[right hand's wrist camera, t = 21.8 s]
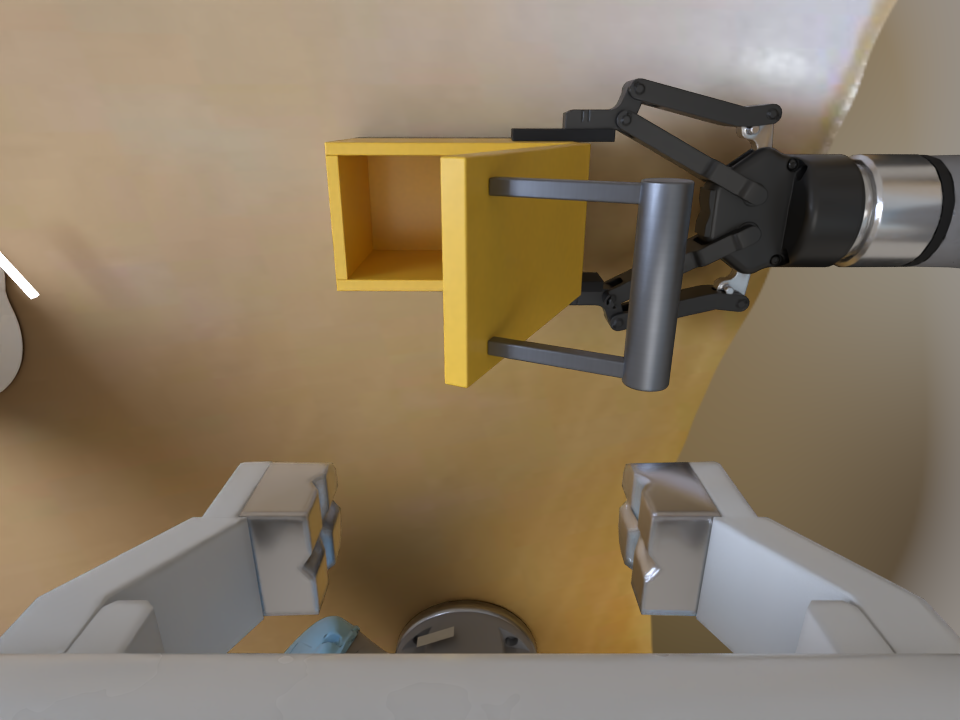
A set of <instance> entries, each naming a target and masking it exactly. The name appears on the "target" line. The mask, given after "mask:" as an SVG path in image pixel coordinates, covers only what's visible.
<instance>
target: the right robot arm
mask: <svg viewBox="0 0 960 720" xmlns="http://www.w3.org/2000/svg"><path fill="white" fill-rule="evenodd" d="M4 270H5V271H6V272H7V274H8V275H9V276H10V277H11V278H12V279H13V280H14V281H15V282H16V283H17V284H18V285H19V286H20V288H21V289H22V290H23V291H24V292H25V293H26V294H27V295H28V296H29V297H30V298H31V299H32V298H35V297H37V296H38V295H39V294H38V293H37V292H36V290H35V289H34V288H33V287H32V286H31V285H30V284H29V283H28V282H27V281H26V280H25V279H24V277H23V276H22V275H21V274H20V273H19V272H18V271H17V270H16V269H15V268H14V267H13V266H12V264H11V263H10V262H9V261H8V260H7V259H6V258H5V257H4V256H3V255H2V254H1V252H0V392H1V391H3V390H4V389H5V388H6V387H8V385H9V384H10V383H11V382H12V381H13V379H14V378H15V376H16V374H17V372H18V370H19V368H20V364H21V360H22V353H23V343H22V335H21V330H20V327H19V323H18V320H17V318H16V315H15V313H14V311H13V309H12V307H11V305H10V302H9V300H8V297H7V294H6V288H5V271H4ZM337 487H338V481H337V474H336V468H335V466H334V464H333V463H309V462H272V461H264V462H244V463H240V465H239V466H238V467H237V468H236V470H235V471H234V473H233V474H232V476H231V477H230V478H229V480H228V481H227V483H226V484H225V485H224V487H223V488H222V490H221V491H220V492H219V494H218V495H217V497H216V498H215V499H214V501H213V502H212V504H211V505H210V507H209V508H208V509H207V511H206V512H205V514H204V515H203V516H202V517H192V518H190V519H188V520H186V521H184V522H182V523H180V524H179V525H177V526H175V527H173V528H171V529H169V530H167V531H165V532H163V533H161V534H159V535H157V536H155V537H153V538H152V539H150V540H148V541H146V542H144V543H142V544H140V545H138V546H136V547H134V548H132V549H130V550H128V551H126V552H125V553H123V554H121V555H119V556H117V557H115V558H113V559H111V560H109V561H107V562H105V563H103V564H101V565H99V566H98V567H96V568H94V569H92V570H90V571H88V572H86V573H84V574H82V575H80V576H78V577H76V578H74V579H72V580H71V581H69V582H67V583H65V584H63V585H61V586H59V587H57V588H55V589H53V590H51V591H49V592H47V593H45V594H44V595H42V596H40V597H38V598H37V599H36V600H35V601H34V602H33V603H32V604H31V605H30V606H29V607H28V608H27V609H26V610H25V611H24V613H23V614H22V615H21V616H20V617H19V618H18V619H17V620H16V621H15V622H14V623H13V624H12V625H11V626H10V628H9V629H8V630H7V631H6V632H5V633H4V634H3V635H2V636H1V637H0V720H960V637H959V636H958V635H957V634H956V633H955V632H954V631H953V629H952V628H951V627H950V626H949V625H948V624H947V623H946V622H945V621H944V620H943V619H942V618H941V617H940V615H939V614H938V613H937V612H936V611H935V610H934V609H933V608H932V607H931V606H930V605H929V604H928V603H927V601H926V600H925V599H924V598H922V597H920V596H918V595H916V594H914V593H912V592H910V591H908V590H906V589H904V588H902V587H901V586H899V585H897V584H895V583H893V582H891V581H889V580H887V579H885V578H883V577H881V576H879V575H877V574H876V573H874V572H872V571H870V570H868V569H866V568H864V567H862V566H860V565H858V564H856V563H854V562H853V561H850V560H849V559H847V558H845V557H843V556H841V555H839V554H837V553H835V552H833V551H831V550H829V549H828V548H826V547H824V546H822V545H820V544H818V543H816V542H814V541H812V540H810V539H808V538H806V537H804V536H802V535H801V534H799V533H797V532H795V531H793V530H791V529H789V528H787V527H785V526H783V525H781V524H780V523H778V522H776V521H774V520H772V519H770V518H768V517H758V516H757V515H756V514H755V512H754V511H753V509H752V508H751V507H750V505H749V504H748V502H747V501H746V500H745V498H744V497H743V496H742V494H741V493H740V491H739V490H738V489H737V487H736V486H735V484H734V483H733V482H732V480H731V479H730V477H729V476H728V475H727V473H726V472H725V470H724V469H723V468H722V466H721V465H720V464H719V463H717V462H715V461H706V462H674V463H633V464H626V465H625V469H624V472H623V480H622V487H623V490H624V493H625V495H626V498H627V501H626V502H625V503H624V504H623V505H622V506H621V507H620V510H619V524H618V527H619V543H620V549H621V554H622V557H623V560H624V563H625V565H627V566H628V567H629V568H631V569H632V579H631V585H632V588H633V591H634V594H635V597H636V600H637V603H638V606H639V608H640V611H641V614H644V615H681V616H696V619H697V620H698V621H700V622H701V623H702V624H703V625H704V626H705V627H706V628H707V629H708V630H709V631H710V632H711V633H713V634H714V635H715V636H716V637H717V638H718V639H719V640H720V641H721V642H722V643H723V644H724V645H726V646H727V647H728V648H729V649H730V650H731V651H732V652H733V653H732V654H730V653H729V654H725V653H723V654H722V653H721V654H720V653H719V654H718V653H717V654H716V653H715V654H714V653H710V654H709V653H707V654H706V653H702V654H701V653H699V654H695V653H691V654H690V653H689V654H260V653H227V652H228V651H229V650H230V649H231V648H233V647H234V646H235V645H236V644H237V643H238V642H239V641H240V640H241V639H242V638H243V637H245V636H246V635H247V634H248V633H249V632H250V631H251V630H252V629H253V628H254V627H255V626H256V625H258V624H259V623H260V622H261V621H262V620H263V619H264V617H263V616H279V615H314V614H319V612H320V609H321V606H322V603H323V600H324V597H325V594H326V591H327V588H328V585H329V580H328V569H329V568H331V567H332V566H333V565H335V563H336V560H337V557H338V553H339V548H340V541H341V510H340V507H339V506H338V505H337V504H336V503H335V502H334V501H333V498H334V495H335V493H336V490H337Z"/></svg>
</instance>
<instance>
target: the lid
mask: <svg viewBox="0 0 960 720" xmlns="http://www.w3.org/2000/svg"><path fill="white" fill-rule="evenodd" d="M590 147H591V145H590V144H589V143H569V144H559V145H549V146H539V147H529V148H519V149H509V150H499V151H489V152H479V153H469V154H459V155H449V156H442V157H441V158H440V170H441V217H442V264H443V312H444V359H445V383H446V384H449V385H454V386H459V387H464V388H468V387H469V386H471V385H472V384H473V383H474V382H475V381H477V380H478V379H479V378H480V377H481V376H483V375H484V374H485V373H486V372H488V371H489V370H490V369H491V368H492V367H494V366H495V365H496V364H497V363H499V362H500V361H501V360H502V359H503V358H509V359H515V360H521V361H527V362H532V363H538V364H544V365H550V366H556V367H561V368H567V369H573V370H579V371H584V372H590V373H596V374H602V375H607V376H613V377H619V378H622V382H623V383H624V384H625V385H626V386H628V387H630V388H632V389H635V390H640V391H648V392H654V391H661V390H664V389H666V388H667V387H668V385H669V379H670V371H671V363H672V355H673V347H674V340H675V332H676V324H677V316H678V308H679V300H680V293H681V285H682V277H683V269H684V261H685V254H686V246H687V238H688V230H689V222H690V214H691V207H692V199H693V191H694V181H692V180H688V179H677V178H647V179H643V180H641V183H637V182H614V181H590V180H588V177H589V162H590ZM587 201H591V202H608V203H626V204H639V206H638V216H637V227H636V237H635V247H634V258H633V268H632V278H631V289H630V299H629V310H628V320H627V330H626V341H625V351H624V357H621V356H614V355H608V354H602V353H596V352H589V351H583V350H577V349H571V348H564V347H558V346H552V345H546V344H539V343H533V342H527V341H525V340H526V339H528V338H529V337H530V336H531V335H533V334H534V333H535V332H536V331H537V330H539V329H540V328H541V327H542V326H544V325H545V324H546V323H547V322H548V321H550V320H551V319H552V318H553V317H554V316H556V315H557V314H558V313H559V312H561V311H562V310H563V309H564V308H565V307H567V306H568V305H569V304H570V303H572V302H573V301H574V300H575V299H576V298H578V297H579V296H580V295H581V284H582V269H583V254H584V239H585V223H586V208H587Z"/></svg>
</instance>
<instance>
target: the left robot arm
mask: <svg viewBox="0 0 960 720" xmlns="http://www.w3.org/2000/svg"><path fill="white" fill-rule="evenodd" d="M641 104H644V105H647V106H651V107H655V108H658V109H662V110H666V111H669V112H673V113H677V114H680V115H684V116H688V117H691V118H695V119H699V120H702V121H706V122H710V123H714V124H717V125H722V126H731V127H736V133H737V135H738V137H740V138H742V139H747V140H748V141H749V142H750V143H751V147H752V148H751V149H750V150H748V151H747V152H745V153H744V154H742V155H741V156H739V157H738V158H737V159H735V160H734V161H732V162H731V163H729V164H728V165H724V164H723V163H721V162H719V161H717V160H715V159H713V158H711V157H709V156H707V155H705V154H704V153H702V152H700V151H699V150H697V149H695V148H694V147H692V146H690V145H688V144H687V143H685V142H683V141H682V140H680V139H678V138H677V137H675V136H673V135H671V134H670V133H668V132H666V131H665V130H663V129H661V128H660V127H658V126H656V125H654V124H653V123H651V122H649V121H648V120H646V119H644V118H643V117H641V116H639V115H637V113H638V111H639V108H640V106H641ZM781 116H782V109H781V107H780V106H779V105H777V104H763V105H751V106H740V105H737V104H733V103H729V102H726V101H722V100H718V99H715V98H711V97H708V96H704V95H700V94H697V93H693V92H689V91H686V90H682V89H678V88H675V87H671V86H668V85H664V84H660V83H657V82H653V81H649V80H646V79H635V80H631V81H628V82H626V83H625V84H624V86H623V88H622V93H621V96H620V98H619V101H618V103H617V104H616V105H615V107H613V108H612V109H609V110H570V111H567V112H565V113H563V128H562V129H512V131H511V140H512V141H573V142H614V141H615V130H617V131H619V132H621V133H623V134H624V135H626V136H628V137H629V138H631V139H633V140H635V141H636V142H638V143H640V144H641V145H643V146H645V147H647V148H648V149H650V150H652V151H654V152H655V153H657V154H659V155H660V156H662V157H664V158H666V159H667V160H669V161H671V162H673V163H674V164H676V165H678V166H679V167H681V168H683V169H685V170H686V171H688V172H690V173H691V174H692V175H694V176H695V177H697V178H699V179H701V180H702V181H704V182H706V183H705V185H704V187H701V188H700V196H699V201H700V209H701V210H700V213H699V215H698V218H697V220H696V226H695V232H696V233H697V235H695V236H693V237H691V238H689V239H687V246H686V254H685V261H684V269H683V273H686V272H688V271H690V270H692V269H694V268H696V267H703V266H706V265H708V264H710V263H712V262H714V261H717V260H719V259H721V260H722V261H724V262H725V263H726V264H727V265H729V266H730V267H731V268H732V271H731V273H730V274H729V275H728V276H726V277H721V278H718V279H716V280H715V281H714V284H713V285H700V286H695V287H690V288H686V289H682V290H681V293H680V300H679V308H678V316H677V318H679V317H683V316H688V315H692V314H697V313H701V312H706V311H710V310H715V309H717V310H727V311H736V312H742V311H744V310H746V309H747V308H748V306H749V299H748V298H747V297H746V296H745V292H746V289H747V285H748V281H749V278H750V274H752V273H755V272H757V271H759V270H761V269H764V268H767V267H829V266H831V265H835V266H838V267H910V266H917V267H953V268H960V155H939V156H929V155H915V154H913V155H912V154H910V155H909V154H858V155H852V156H850V157H848V156H846V155H842V154H783V153H781V152H779V151H777V150H776V149H774V148H772V143H773V128H774V124H775V123H776V122H778V121H779V120H780V118H781ZM631 278H632V269H630V270H628V271H626V272H624V273H622V274H620V275H618V276H616V277H614V278H612V279H610V280H607V281H605V282H604V281H603V280H602V279H601V277H600V276H599V274H598V273H597V272H582V284H581V295H580V296H579V297H578V298H576V299H575V300H574V301H573V302H572V303H570V304H569V305H599V306H601V307H602V308H603V311H604V316H605V318H606V320H607V321H608V323H609V325H610V326H611V328H612V329H613V330H615V331H621V330H625V329H627V320H628V310H629V302H625V301H627V300H629V299H630V289H631ZM623 302H625V303H623ZM284 654H389V653H387V652H386V651H384V650H383V649H381V648H380V647H378V646H377V645H376V644H374V643H373V642H372V641H371V640H369V639H368V638H367V637H366V636H364V635H363V634H362V633H361V632H360V628H359V627H358V626H353V625H352V624H350V623H349V622H347V621H346V620H344V619H343V618H341V617H338V616H329V617H325V618H323V619H321V620H319V621H317V622H316V623H314V624H313V625H312V626H310V627H309V628H308V629H307V630H306V631H305V632H304V633H303V634H302V635H301V636H299V637H298V638H297V639H296V640H295V641H294V642H293V644H292V645H291V646H290V647H289V648H288V649H287V650H286V651H285V653H284ZM395 654H537V649H536V644H535V640H534V638H533V636H532V634H531V632H530V630H529V629H528V628H527V626H526V625H525V624H524V623H523V622H522V621H521V620H520V619H519V618H518V617H516V616H515V615H514V614H512V613H511V612H509V611H507V610H505V609H503V608H501V607H498V606H496V605H493V604H489V603H485V602H480V601H471V600H460V601H451V602H445V603H442V604H438V605H435V606H432V607H430V608H428V609H426V610H424V611H422V612H421V613H419V614H418V615H416V616H415V617H414V618H413V619H412V620H410V622H409V623H408V624H407V625H406V626H405V628H404V629H403V631H402V632H401V634H400V636H399V639H398V642H397V647H396V653H395Z"/></svg>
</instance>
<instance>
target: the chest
mask: <svg viewBox="0 0 960 720" xmlns="http://www.w3.org/2000/svg"><path fill="white" fill-rule="evenodd" d="M569 143H578V142H573V141H512V140H511V138H366V137H358V138H353V139H346V140H338V141H331V142H325V154H326V156H325V157H326V168H327V179H328V191H329V202H330V214H331V225H332V237H333V248H334V259H335V271H336V279H337V280H336V282H337V291H443V264H442V217H441V170H440V158H441V157H442V156H449V155H459V154H469V153H479V152H489V151H499V150H509V149H519V148H529V147H539V146H549V145H559V144H569Z"/></svg>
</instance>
